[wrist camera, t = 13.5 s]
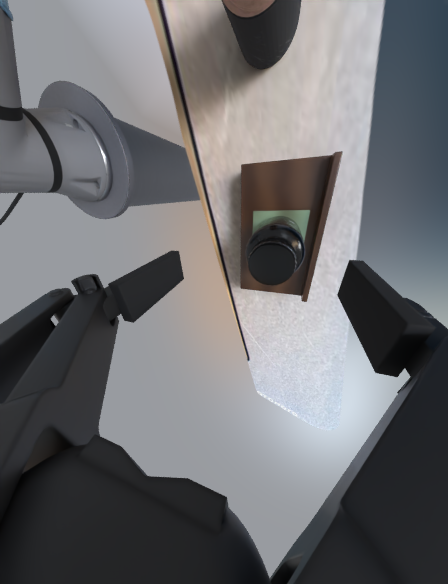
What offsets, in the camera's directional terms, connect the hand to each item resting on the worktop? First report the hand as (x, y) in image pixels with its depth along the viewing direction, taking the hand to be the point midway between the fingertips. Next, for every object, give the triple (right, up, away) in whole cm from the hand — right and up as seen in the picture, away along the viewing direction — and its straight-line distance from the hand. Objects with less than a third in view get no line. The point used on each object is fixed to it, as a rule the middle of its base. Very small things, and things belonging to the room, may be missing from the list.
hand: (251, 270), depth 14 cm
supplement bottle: (+6, +7, +13) cm, 16 cm away
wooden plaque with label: (+8, +9, +17) cm, 21 cm away
